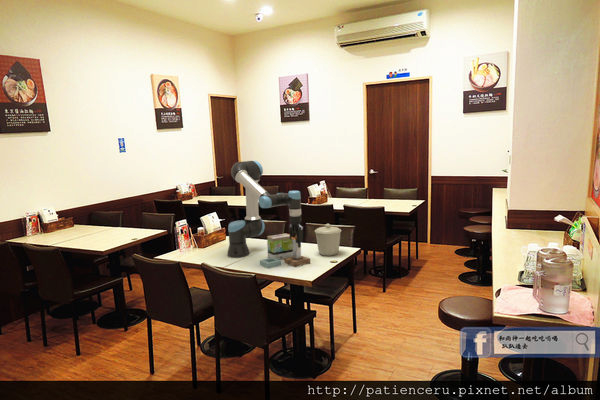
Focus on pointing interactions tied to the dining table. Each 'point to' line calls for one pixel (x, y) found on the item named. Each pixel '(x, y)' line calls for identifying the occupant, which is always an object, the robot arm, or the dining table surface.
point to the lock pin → (295, 249)
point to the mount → (270, 262)
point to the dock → (297, 261)
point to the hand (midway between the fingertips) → (296, 251)
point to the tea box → (279, 246)
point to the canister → (328, 240)
